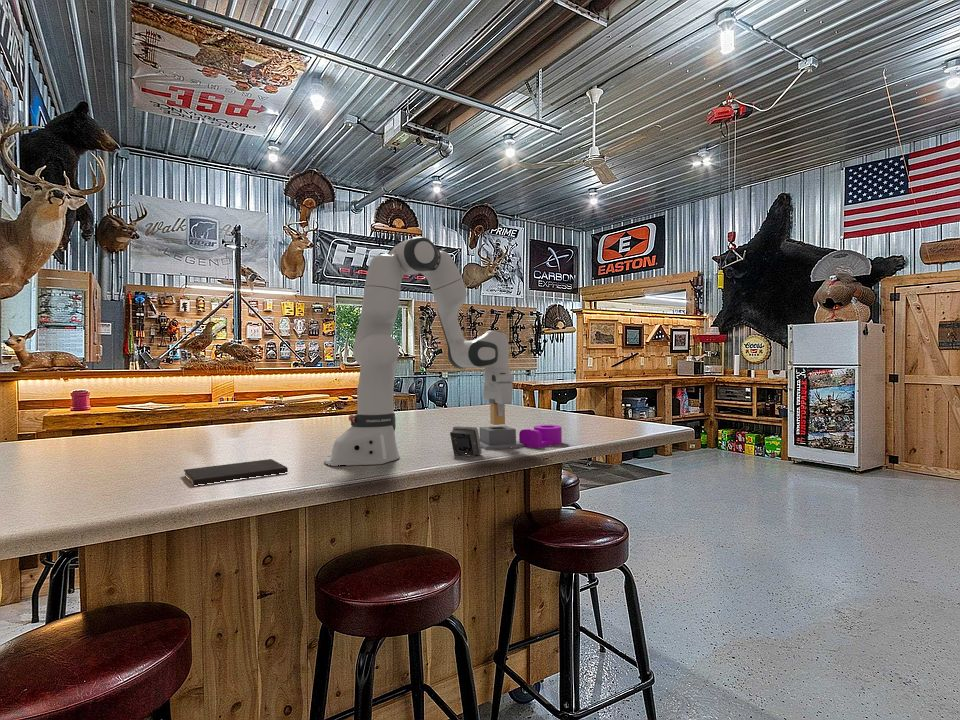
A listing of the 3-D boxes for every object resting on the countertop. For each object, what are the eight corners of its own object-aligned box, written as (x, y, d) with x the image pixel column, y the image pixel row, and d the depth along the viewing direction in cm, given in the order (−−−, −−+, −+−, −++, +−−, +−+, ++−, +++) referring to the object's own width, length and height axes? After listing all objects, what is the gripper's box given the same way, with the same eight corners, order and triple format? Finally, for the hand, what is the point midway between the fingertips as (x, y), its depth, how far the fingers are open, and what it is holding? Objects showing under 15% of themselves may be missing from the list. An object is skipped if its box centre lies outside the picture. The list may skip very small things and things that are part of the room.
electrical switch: (482, 455, 170) (480, 426, 169) (473, 459, 165) (471, 429, 164) (458, 452, 175) (456, 424, 174) (449, 456, 170) (447, 428, 170)
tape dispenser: (545, 440, 198) (544, 424, 198) (567, 443, 191) (566, 426, 191) (517, 446, 187) (517, 428, 187) (540, 449, 180) (539, 431, 180)
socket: (485, 449, 179) (485, 431, 179) (472, 443, 192) (472, 426, 192) (523, 446, 184) (523, 429, 184) (508, 440, 197) (508, 424, 197)
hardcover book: (183, 478, 144) (183, 469, 144) (271, 466, 158) (271, 458, 158) (193, 489, 131) (193, 479, 131) (287, 475, 145) (287, 467, 145)
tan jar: (493, 425, 185) (493, 399, 185) (489, 423, 189) (489, 398, 189) (506, 424, 187) (505, 398, 187) (501, 422, 191) (501, 398, 191)
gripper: (479, 375, 197) (479, 412, 197) (498, 377, 177) (499, 418, 177) (494, 375, 199) (495, 412, 199) (515, 377, 179) (516, 417, 179)
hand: (497, 415), depth 188 cm, fingers closed on tan jar, 4 cm apart
